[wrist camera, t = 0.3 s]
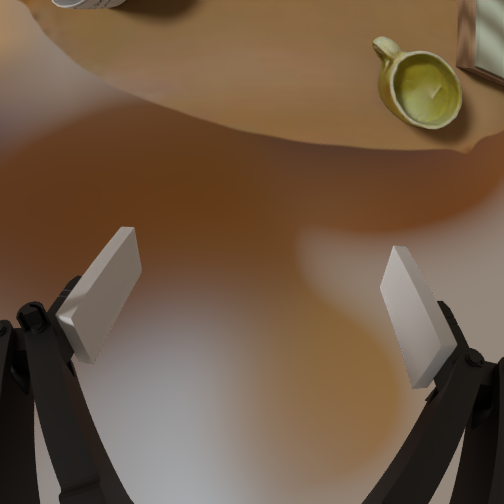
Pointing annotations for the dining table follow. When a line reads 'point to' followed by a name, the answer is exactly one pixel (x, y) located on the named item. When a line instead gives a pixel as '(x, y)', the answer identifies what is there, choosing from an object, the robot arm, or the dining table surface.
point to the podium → (481, 38)
